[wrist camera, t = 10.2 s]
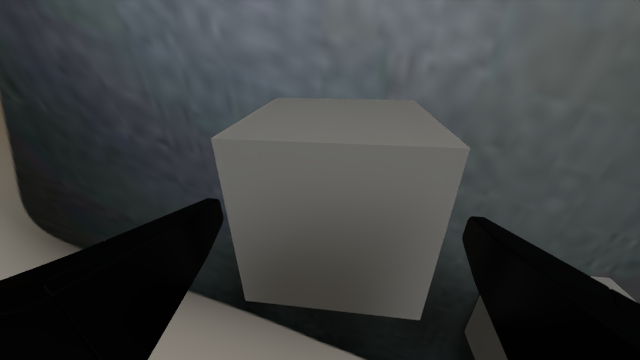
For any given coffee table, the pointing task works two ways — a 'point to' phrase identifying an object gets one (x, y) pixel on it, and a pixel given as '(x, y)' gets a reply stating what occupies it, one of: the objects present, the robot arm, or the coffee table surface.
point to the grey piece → (339, 202)
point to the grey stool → (485, 337)
